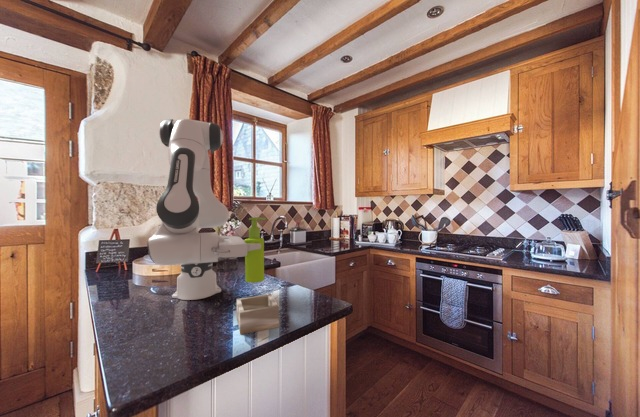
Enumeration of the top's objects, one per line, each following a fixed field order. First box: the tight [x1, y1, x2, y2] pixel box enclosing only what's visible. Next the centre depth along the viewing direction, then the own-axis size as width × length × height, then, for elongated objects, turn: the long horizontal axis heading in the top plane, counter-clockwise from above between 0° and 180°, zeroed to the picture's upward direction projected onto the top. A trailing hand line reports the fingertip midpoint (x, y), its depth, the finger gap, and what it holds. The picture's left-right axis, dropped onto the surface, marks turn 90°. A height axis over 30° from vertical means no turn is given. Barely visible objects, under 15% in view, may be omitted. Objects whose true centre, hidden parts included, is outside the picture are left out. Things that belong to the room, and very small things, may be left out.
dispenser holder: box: [235, 293, 280, 335], centre depth 83 cm, size 12×11×6 cm
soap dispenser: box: [244, 216, 268, 284], centre depth 82 cm, size 6×7×20 cm
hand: (258, 244), depth 83 cm, fingers closed on soap dispenser, 6 cm apart
